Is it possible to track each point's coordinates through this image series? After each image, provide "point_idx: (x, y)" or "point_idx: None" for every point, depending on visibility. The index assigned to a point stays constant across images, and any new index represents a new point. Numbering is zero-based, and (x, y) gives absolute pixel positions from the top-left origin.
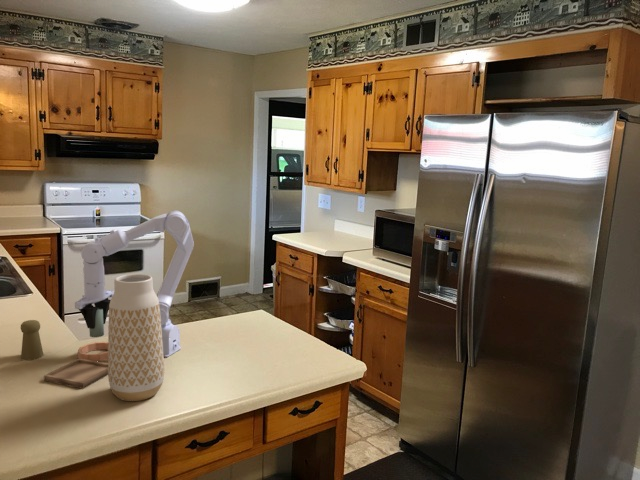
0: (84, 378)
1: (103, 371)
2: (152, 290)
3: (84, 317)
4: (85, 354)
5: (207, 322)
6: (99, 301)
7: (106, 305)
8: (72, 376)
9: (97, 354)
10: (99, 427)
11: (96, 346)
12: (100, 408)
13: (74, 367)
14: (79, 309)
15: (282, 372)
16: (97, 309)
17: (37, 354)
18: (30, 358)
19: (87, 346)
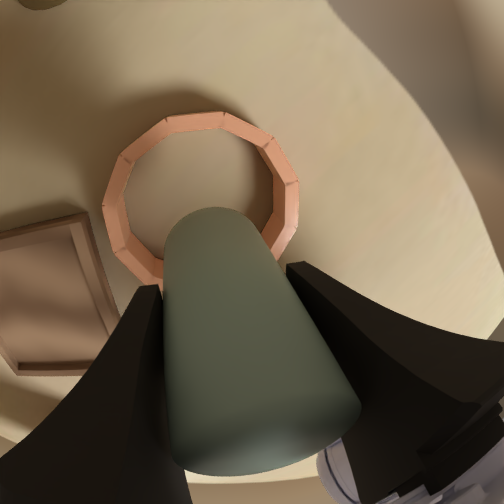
0: (31, 348)
1: (82, 374)
2: None
3: (96, 370)
4: (108, 234)
5: (492, 278)
6: (408, 475)
7: (356, 474)
8: (9, 313)
9: (141, 281)
10: (16, 435)
11: (258, 146)
12: (28, 419)
13: (36, 261)
14: (15, 465)
15: (287, 469)
16: (286, 446)
17: (36, 2)
18: (20, 2)
19: (213, 127)
